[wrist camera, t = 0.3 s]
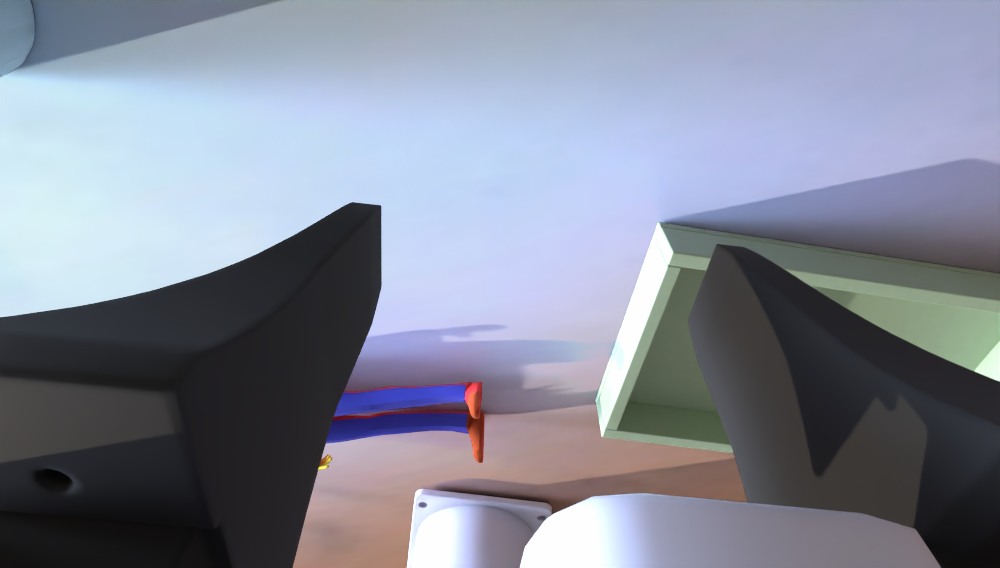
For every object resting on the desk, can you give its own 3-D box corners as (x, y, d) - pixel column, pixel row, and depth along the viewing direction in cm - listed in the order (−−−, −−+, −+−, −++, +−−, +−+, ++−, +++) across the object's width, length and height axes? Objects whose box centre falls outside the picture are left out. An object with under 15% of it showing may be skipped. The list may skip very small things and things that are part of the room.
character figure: (480, 506, 25) (45, 503, 25) (485, 451, 29) (111, 450, 30) (478, 392, 23) (14, 391, 24) (483, 352, 28) (89, 351, 28)
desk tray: (915, 441, 29) (944, 480, 27) (595, 400, 28) (601, 437, 26) (1052, 281, 23) (1102, 315, 21) (658, 221, 22) (672, 251, 20)
